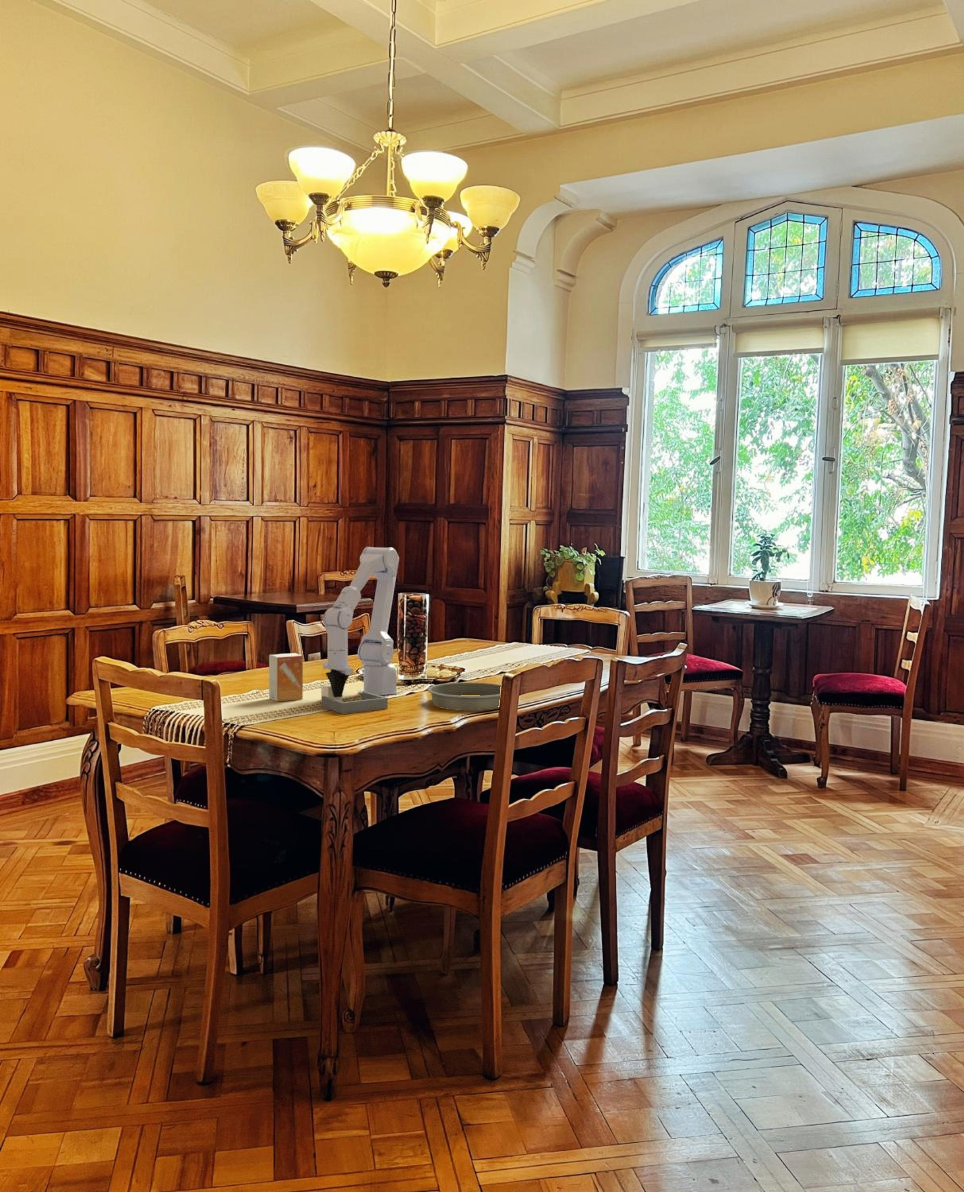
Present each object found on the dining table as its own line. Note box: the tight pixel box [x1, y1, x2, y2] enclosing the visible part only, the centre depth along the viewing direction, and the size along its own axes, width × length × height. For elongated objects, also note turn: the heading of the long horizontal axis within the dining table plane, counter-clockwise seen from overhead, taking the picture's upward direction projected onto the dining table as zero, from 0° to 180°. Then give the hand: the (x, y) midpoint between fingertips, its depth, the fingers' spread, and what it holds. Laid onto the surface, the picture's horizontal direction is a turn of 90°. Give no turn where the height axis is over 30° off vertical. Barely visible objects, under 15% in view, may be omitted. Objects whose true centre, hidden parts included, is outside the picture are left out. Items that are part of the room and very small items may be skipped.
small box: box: [268, 652, 304, 703], centre depth 294 cm, size 8×6×13 cm
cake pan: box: [427, 681, 502, 711], centre depth 290 cm, size 25×25×4 cm
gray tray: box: [321, 692, 389, 715], centre depth 281 cm, size 14×12×3 cm
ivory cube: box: [320, 683, 343, 702], centre depth 292 cm, size 4×4×4 cm
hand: (337, 696), depth 289 cm, fingers closed
